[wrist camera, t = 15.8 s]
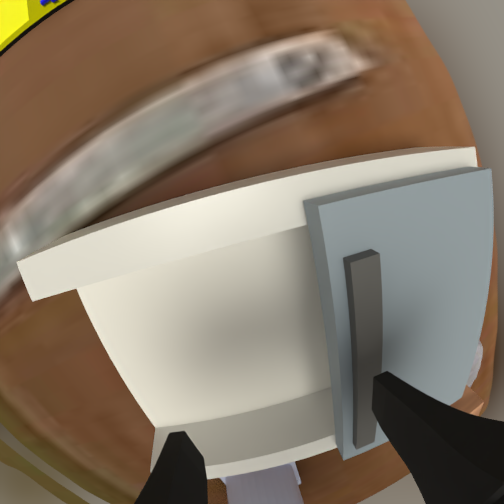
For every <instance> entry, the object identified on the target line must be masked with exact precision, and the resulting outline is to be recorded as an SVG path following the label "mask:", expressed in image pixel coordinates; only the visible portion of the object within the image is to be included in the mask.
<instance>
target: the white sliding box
mask: <svg viewBox="0 0 504 504" xmlns="http://www.w3.org/2000/svg"><path fill="white" fill-rule="evenodd" d="M469 166H471V167H477V159H476V151H475V147H416V148H408V149H400V150H393V151H386V152H379V153H372V154H366V155H360V156H354V157H348V158H342V159H337V160H331V161H326V162H321V163H315V164H310V165H305V166H301V167H296V168H291V169H286V170H282V171H277V172H273V173H268V174H264V175H260V176H256V177H251V178H247V179H243V180H239V181H235V182H231V183H227V184H224V185H220V186H216V187H212V188H209V189H205V190H201V191H198V192H194V193H191V194H187V195H184V196H180V197H177V198H173V199H170V200H167V201H164V202H160V203H157V204H154V205H151V206H147V207H144V208H141V209H138V210H135V211H132V212H129V213H126V214H123V215H120V216H117V217H114V218H111V219H108V220H106V221H103V222H100V223H97V224H94V225H92V226H89V227H86V228H84V229H81V230H78V231H76V232H73V233H70V234H68V235H65V236H63V237H61V238H59V239H57V240H56V241H54V242H52V243H50V244H48V245H46V246H44V247H43V248H41V249H39V250H37V251H35V252H34V253H32V254H30V255H28V256H26V257H25V258H23V259H21V260H20V261H18V262H17V265H18V268H19V270H20V273H21V275H22V278H23V281H24V283H25V285H26V288H27V290H28V293H29V295H30V297H31V299H32V301H35V300H39V299H42V298H45V297H49V296H52V295H55V294H59V293H62V292H66V291H69V290H72V289H77V291H78V293H79V296H80V298H81V300H82V302H83V305H84V307H85V309H86V311H87V313H88V316H89V318H90V320H91V322H92V324H93V326H94V328H95V330H96V332H97V334H98V336H99V338H100V340H101V342H102V343H103V345H104V347H105V349H106V351H107V353H108V355H109V356H110V358H111V360H112V362H113V363H114V365H115V367H116V369H117V370H118V372H119V374H120V375H121V377H122V379H123V380H124V382H125V383H126V385H127V387H128V388H129V390H130V391H131V393H132V394H133V396H134V398H135V399H136V401H137V402H138V404H139V405H140V407H141V408H142V409H143V411H144V412H145V414H146V415H147V417H148V418H149V419H150V421H151V422H152V424H153V425H154V426H155V436H154V443H153V451H152V460H151V469H150V471H151V472H152V470H153V468H154V466H155V464H156V462H157V460H158V457H159V455H160V453H161V450H162V448H163V446H164V443H165V441H166V439H167V436H168V434H169V433H171V432H179V431H185V432H186V433H187V435H188V436H189V438H190V439H191V441H192V442H193V443H194V445H195V446H196V448H197V449H198V450H199V452H200V453H201V454H202V456H203V457H204V462H205V468H206V475H207V479H213V478H220V477H227V476H233V475H239V474H244V473H249V472H254V471H259V470H263V469H268V468H272V467H276V466H280V465H284V464H287V463H291V462H294V461H298V460H301V459H305V458H308V457H311V456H314V455H317V454H320V453H323V452H326V451H329V450H332V449H334V448H337V445H336V440H335V425H334V412H333V400H332V389H331V379H330V370H329V361H328V352H327V344H326V336H325V328H324V321H323V313H322V306H321V300H320V293H319V286H318V280H317V274H316V268H315V262H314V256H313V250H312V245H311V239H310V234H309V228H308V223H307V218H306V213H305V208H304V203H303V201H304V200H308V199H313V198H317V197H321V196H325V195H330V194H334V193H339V192H343V191H347V190H352V189H356V188H361V187H366V186H370V185H375V184H380V183H384V182H389V181H394V180H399V179H404V178H409V177H414V176H419V175H425V174H430V173H435V172H441V171H446V170H452V169H457V168H463V167H469Z"/></svg>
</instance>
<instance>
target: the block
mask: <svg viewBox="0 0 504 504" xmlns="http://www.w3.org/2000/svg"><path fill="white" fill-rule="evenodd" d="M483 403H484V401H483V400H482V399H481V398H480V397H479V396H478V395H477V394H476V393H475V392H474V391H473V390H472V389H471V388H470V387H469V386H468V385H466V387H465V390H464V392H463V395H462V397H461V398H460V399H458V400H457V401H456V402H454V403H453V404H451V405H450V406H451V407H454V408H456V409H459V410H461V411H464V412H467V413H470V414H473V415H476V416H478V415H479V413H480V410H481V408H482V405H483Z"/></svg>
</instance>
